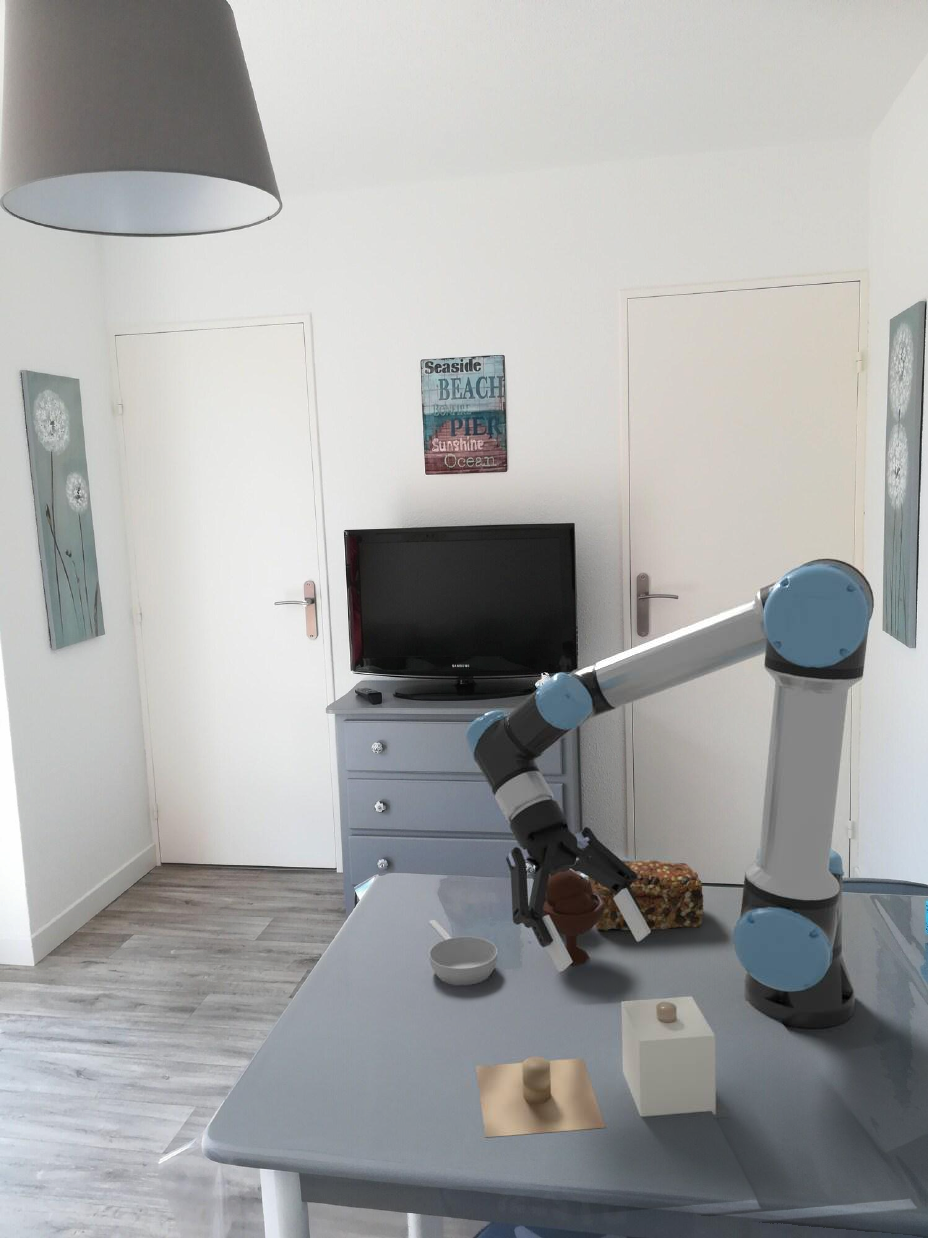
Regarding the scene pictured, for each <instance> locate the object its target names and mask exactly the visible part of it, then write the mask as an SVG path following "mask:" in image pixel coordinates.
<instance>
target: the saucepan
mask: <svg viewBox="0 0 928 1238" xmlns="http://www.w3.org/2000/svg"><path fill="white" fill-rule="evenodd" d="M428 925H430V927H431V928H433V930H434V931H435V932H436V933H437V934H438V935H439V936H440V938H441V939H442V940H441V941H439V942H437V943H435V944H434V945H432V947H431V948H430V950H429V962H430V967H431V969H432V970H433V973H435V974H436V976H437V977H438V979H439V980H440V981H442V982H443V981H444V982H443V983H445V982H446V984H448V983H450V984H449V985H452V984H454V985H453V986H461V985H463V986H471V985H472V984H473V985H477V984H479V982H480V983H481V982H484V981H486V980H487V979H488V978H489V977H490V976H491V974H492V972H493V971H494V969H495V967H496V966H497V961H498V948H497V946H496V945H495V944H494V943H493V942H491V941H490V940H487V939H485V938H481V937H476V936H455V937H452V936H450V934H449V933H448V932H447V931H446V930H445V929H444V928H443V927H442V926H441V925H440V924H439V922H438V921H437V920H435V919H431V920H429V921H428ZM476 983H477V984H476Z"/></svg>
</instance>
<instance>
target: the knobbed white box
mask: <svg viewBox="0 0 928 1238" xmlns="http://www.w3.org/2000/svg"><path fill="white" fill-rule="evenodd" d="M621 1037H622V1039H621V1040H622V1041H621V1042H622V1043H621V1044H622V1073H623V1076H624V1078H625V1080H626V1083H627V1085H628V1088H629V1091H630V1093H631V1095H632V1099H633V1101H634V1103H635V1105H636V1109H637V1112H638V1113H639V1116H640V1117H651V1116H666V1115H675V1114H676V1115H677V1114H679V1115H680V1114H690V1113H701V1112H711V1113H712V1115H713V1116H714V1115H716V1097H715V1091H716V1035H715V1033H714V1031H713V1030H712V1028H711V1026H710V1025H709V1023H708V1021H707V1020H706V1018H705V1017H704V1015H703V1013H702V1011H701V1010H700V1008H699V1006H698V1004H697V1003H696V1001H695V999H694V998H693V996H677V997H665V998H652V999H649V998H648V999H636V1000H625V1001H621Z"/></svg>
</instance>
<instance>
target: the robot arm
mask: <svg viewBox="0 0 928 1238" xmlns="http://www.w3.org/2000/svg"><path fill="white" fill-rule="evenodd" d="M874 607H875V598H874V592H873V589H872V587H871V584H870V582H869V580H868V579H867V578H866V576H865V575H864V574H863V573H862V572H861V571H860V570H859V569H858V568H857V567H855V566H854V565H852V564H851V563H848V562H846V561H843V560H839V559H836V558H817V559H814V560H811V561H808V562H806V563H803V564H802V565H800V566H798V567H794V568H793V569H791V570H789V571H788V572H786V573H785V574H784V575H782V576H781V578H779V580H777V581H775V582H773V583H771V584H768V585H766V586H764V587H761V588H759V589H758V590H757V591H756V594H755V596H754V598H753V599H750V600H748V601H747V602H744V603H741V604H739V605H736V606H734V607H731V608H729V609H727V610H726V609H725V610H724V611H721V612H718V613H716V614H714V615H711V616H708V617H706V618H703V619H701V620H698V621H696V622H693V623H691V624H689V625H686V626H684V627H682V628H679V629H677V630H674V631H671V632H670V633H667V634H665V635H664V634H663V635H661V636H659V637H656V638H655V639H652V640H649V641H646V642H644V643H641V644H639V645H637V646H635V647H632V648H630V649H627V650H625V651H622V652H620V653H617V654H614V655H612V656H610V657H607V658H604V659H602V660H599V661H598V662H596V663H592V664H590V665H587V666H586V667H580V668H576V669H574V670H572V671H570V672H568V673H566V672H557V673H555V674H554V675H552V676H551V677H550V678H549V679H547V680H546V681H544V682H542V683H541V684H540V685H539V686H538V688H537V689H536V690H535V691H533V693H531V694H530V695H529V696H528V697H527V698H526V699H525V700H524V701H522V702H521V704H518V706H517V707H516V708H515V709H514V710H513V711H511V712H509V713H508V712H506V711H504V710H500V709H498V710H492V711H489V712H486V713H484V714H483V715H482V716H481V717H477V718H476V719H474V721H472V722H471V723H470V725H469V726H468V727H467V729H466V732H465V739H466V742H467V744H468V747H469V748H470V751H471V753H472V757H473V759H474V762H475V763H476V764H477V766H478V767H479V769H480V771H481V773H482V775H483V777H484V778H485V780H486V782H487V784H488V785H489V788H490V790H491V791H492V794H493V796H494V799H495V801H496V802H497V804H498V807H499V808H500V810H501V812H502V814H503V816H504V817H505V820H506V821H507V822H509V823H510V824H509V827H510V830H511V832H512V834H513V836H514V838H515V840H516V842H517V843H518V845H519V846H520V847H521V848H522V849H521V848H520V847H517V846H515V847H514V848H513V849H512V850H511V851H510V853H509V854H508V855H507V856H505V857H506V859H505V860H506V863H507V866H508V867H509V868H508V869H509V871H510V884H511V885H510V886H511V905H512V906H511V909H512V911H511V912H512V922H513V923H514V924H515V925H516V926H518V925H521V924H523V925H524V927H525V928H527V929H531V930H532V931H533V934H534V935H535V937H536V940H537V941H538V943H539V946H541V947H542V948H545V947H546V950H547V951H548V953H549V956H550V958H551V959H552V961H553V963H554V966H555V968H556V969H557V971H558V973H560V972H563V971H565V970H566V969H568V967H569V966H571V965H570V964H571V963H572V962H573V961H572V959H571V957H570V955H569V953H568V951H567V949H566V948H565V946H566V945H565V944H564V942H563V939H562V937H561V936H560V933H558V932H557V930H556V928H555V926H554V924H553V922H552V920H551V918H550V916H549V915H546V916H544V917H543V918H542V917H541V916H542V913H543V907H544V901H545V896H546V890H547V885H548V879H549V874H550V875H551V876H553V875H555V874H557V873H558V872H565V871H568V870H569V869H572V870H574V871H579V873H581V874H583V875H584V876H586V877H587V878H588V877H589V878H591V879H593V880H594V881H596V882H598V883H599V884H601V885H603V886H604V887H606V888H608V889H609V890H611V891H613V892H614V893H616V894H617V895H616V896H615V897H614V898H613V899H614V901H615V902H616V904H617V906H618V908H619V910H620V912H621V913H622V915H623V917H624V919H625V921H626V922H627V924H628V926H629V928H630V930H629V931H630V932H631V933H632V936H633V937H634V939H635V941H636V942H640V941H642V940H643V939H644V938H646V937H647V936H648V935H649V934H650V933H651V932H652V931H651V929H649V927H648V925H647V923H646V922H645V920H644V918H643V916H642V915H641V913H640V911H639V910H640V909H641V907H640V904H639V902H638V901H637V899H636V897H635V895H634V894H633V892H632V890H631V885H632V883H633V882H634V881H635V880H636V879H637V874H636V873H635V872H634V871H633V870H632V869H630V868H629V867H628V866H627V865H626V864H625V863H624V862H625V861H623V860H621V859H620V858H619V857H618V856H617V855H616V854H615V853H613V852H612V851H611V850H610V849H609V848H608V847H607V846H605V845H604V843H602V842H601V841H600V840H598V838H597V837H596V836H595V834H594V832H593V831H592V830H591V828H590V827H588V826H585V827H584V828H583V829H581V831H580V832H577V833H576V834H574V833H572V832H571V830H570V829H569V826H568V821H567V818H566V816H565V814H564V812H563V811H562V809H561V807H560V804H558V802H557V800H554V793H553V791H552V789H550V786H549V785H548V783H547V781H546V779H545V777H544V776H543V774H542V773H541V771H540V769H539V767H538V765H537V762H536V760H537V759H538V758H540V757H541V756H542V755H543V754H545V753H546V751H548V750H549V749H551V748H552V747H553V746H555V744H557V743H559V741H560V740H562V739H563V738H564V737H565V736H567V735H568V734H570V733H571V732H573V731H574V730H575V729H577V728H578V727H579V726H581V725H582V724H584V723H585V722H587V721H589V720H590V719H593V718H595V717H598V716H600V715H603V714H605V713H608V712H611V711H614V710H615V709H618V708H620V707H624V706H625V705H628V704H631V703H634V702H636V701H640V700H642V699H645V698H647V697H650V696H653V695H655V694H657V693H660V692H664V691H666V690H669V689H671V688H674V687H676V686H677V687H678V686H679V685H682V684H685V683H687V682H690V681H694V680H695V679H699V678H702V677H705V676H706V675H709V674H712V673H715V672H718V671H721V670H723V669H727V668H728V667H732V666H733V665H734V666H735V665H736V664H739V663H742V662H745V661H747V660H750V659H754V658H755V657H758V656H761V655H765V656H764V665H763V667H764V670H766V672H767V673H768V674H769V675H770V676H771V678H772V679H774V682H775V684H774V694H773V695H774V696H773V703H772V705H773V706H772V714H771V723H770V725H771V726H770V736H769V745H768V753H767V754H768V755H767V766H766V767H767V768H766V777H765V785H764V786H765V787H764V798H763V807H762V808H763V809H762V819H761V828H760V829H761V831H760V837H759V838H760V841H759V847H758V849H757V850H756V851H757V852H756V858H755V859H756V860H753V861H752V862H751V863H749V864H748V865H747V866H746V867H745V871H744V880H743V887H742V889H743V890H742V897H741V900H742V901H741V911H740V916H739V919H738V920H737V922H736V925H734V930H733V947H734V952H735V955H736V957H737V960H738V962H739V964H740V965H741V966H742V967H743V969H745V970H746V973H745V977H744V980H743V981H744V983H743V984H744V986H743V988H744V989H743V990H744V993H743V994H744V999H745V1001H746V1002H748V1004H750V1006H752V1008H754V1009H755V1010H757V1011H758V1012H760V1013H761V1014H764V1015H765V1016H767V1017H769V1018H772V1019H775V1020H778V1021H780V1022H781V1024H783V1025H786V1026H792V1027H798V1028H806V1029H807V1028H809V1029H818V1028H819V1029H820V1028H821V1029H822V1028H830V1027H834V1026H837V1025H840V1024H843V1023H845V1022H847V1021H848V1020H849V1019H850V1018H851V1017H852V1016H853V1015H854V1012H855V1009H856V1008H855V1001H856V999H855V998H856V995H855V990H854V989H855V988H854V986H853V983H852V981H851V977H850V975H849V972H848V968H847V965H846V963H845V959H844V956H843V876H845V871H844V868H843V859H842V857H841V855H840V854H839V853H838V852H837V851H835V850H833V849H832V843H833V833H834V832H833V831H834V823H835V814H836V805H837V795H838V786H839V778H840V777H839V775H840V769H841V768H840V767H841V761H842V760H841V757H842V749H843V738H844V730H845V721H846V714H847V712H846V711H847V704H848V702H847V700H848V693H849V689H850V688H851V687H852V686H854V685H855V684H857V683H858V682H860V681H862V680H863V677H864V673H865V672H864V670H865V663H866V662H865V660H866V654H867V653H866V652H867V643H868V635H869V627H870V621H871V619H872V616H873V613H874ZM577 858H578V859H577ZM527 862H528V863H530V864H532V866H533V867H534V866H535V869H534V868H533V875H532V886H531V887H532V888H531V891H530V896H529V892H528V891H529V890H528V888H529V887H528V877H527V876H528V872H527Z"/></svg>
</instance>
